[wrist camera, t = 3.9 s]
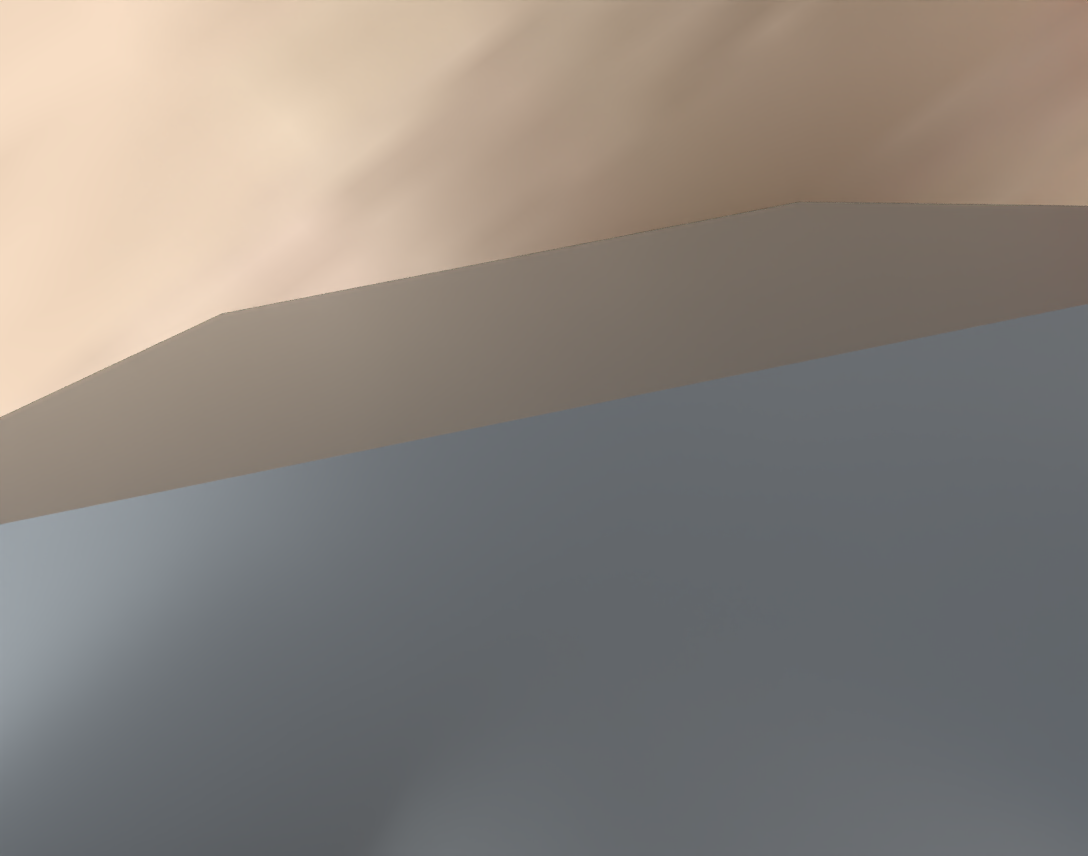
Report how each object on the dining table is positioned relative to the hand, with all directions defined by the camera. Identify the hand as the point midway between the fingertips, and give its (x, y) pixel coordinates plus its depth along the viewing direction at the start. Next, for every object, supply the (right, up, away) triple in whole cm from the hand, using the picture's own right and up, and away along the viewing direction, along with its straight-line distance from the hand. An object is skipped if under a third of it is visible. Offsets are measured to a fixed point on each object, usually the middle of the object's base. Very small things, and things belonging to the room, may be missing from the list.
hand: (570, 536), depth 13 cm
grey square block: (0, 0, +1) cm, 1 cm away
